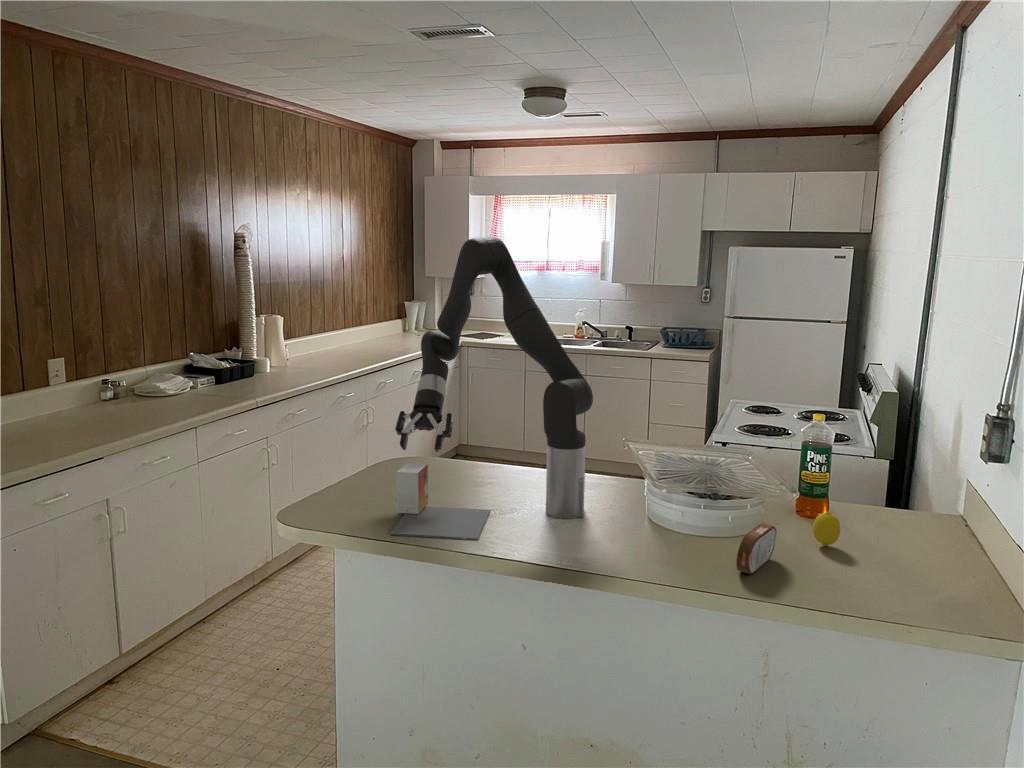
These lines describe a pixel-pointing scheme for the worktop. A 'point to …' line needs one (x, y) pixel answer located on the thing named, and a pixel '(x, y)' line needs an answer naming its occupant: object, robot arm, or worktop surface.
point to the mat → (443, 523)
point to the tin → (756, 548)
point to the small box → (412, 488)
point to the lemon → (826, 529)
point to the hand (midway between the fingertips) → (420, 449)
